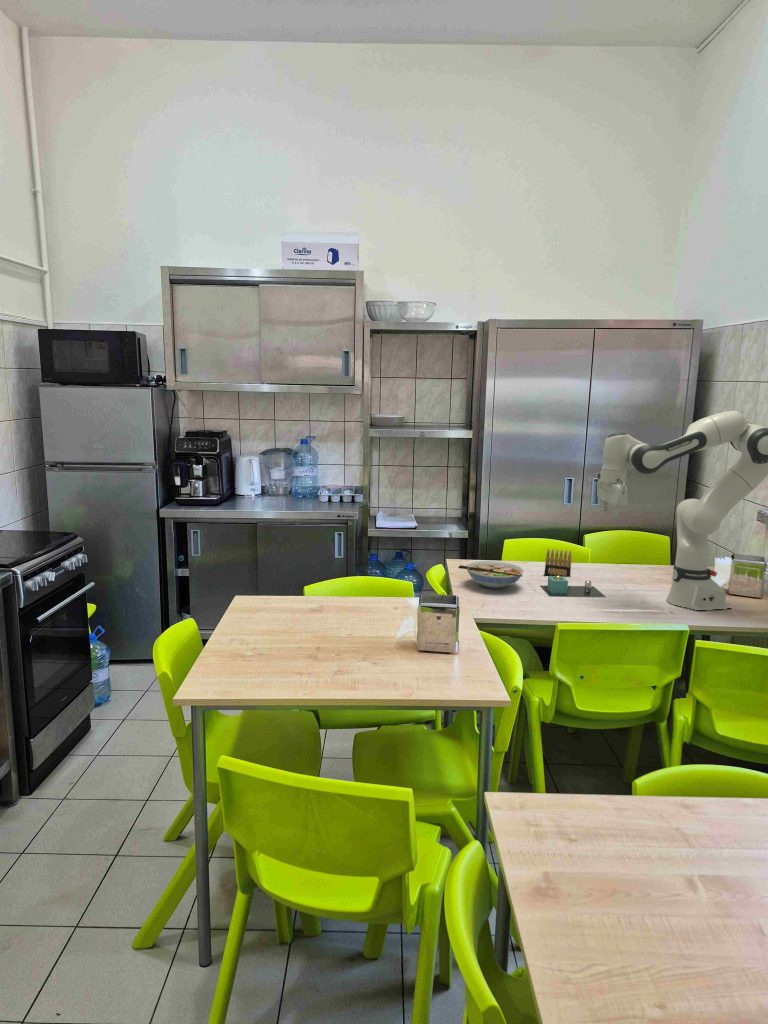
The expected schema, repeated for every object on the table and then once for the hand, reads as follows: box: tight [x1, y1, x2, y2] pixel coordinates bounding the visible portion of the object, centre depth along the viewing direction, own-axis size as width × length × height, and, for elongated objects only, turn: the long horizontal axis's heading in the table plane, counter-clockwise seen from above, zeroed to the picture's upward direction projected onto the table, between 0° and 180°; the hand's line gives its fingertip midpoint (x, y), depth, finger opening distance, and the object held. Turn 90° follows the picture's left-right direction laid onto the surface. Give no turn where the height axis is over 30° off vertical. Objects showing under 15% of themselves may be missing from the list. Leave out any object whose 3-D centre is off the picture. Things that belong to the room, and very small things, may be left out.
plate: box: [539, 576, 607, 598], centre depth 263 cm, size 22×14×7 cm, turn 93°
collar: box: [546, 576, 569, 594], centre depth 262 cm, size 6×6×5 cm
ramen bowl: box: [457, 560, 525, 590], centre depth 269 cm, size 25×23×8 cm
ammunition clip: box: [543, 548, 572, 578], centre depth 284 cm, size 11×2×12 cm, turn 72°
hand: (609, 514), depth 250 cm, fingers open, 8 cm apart
